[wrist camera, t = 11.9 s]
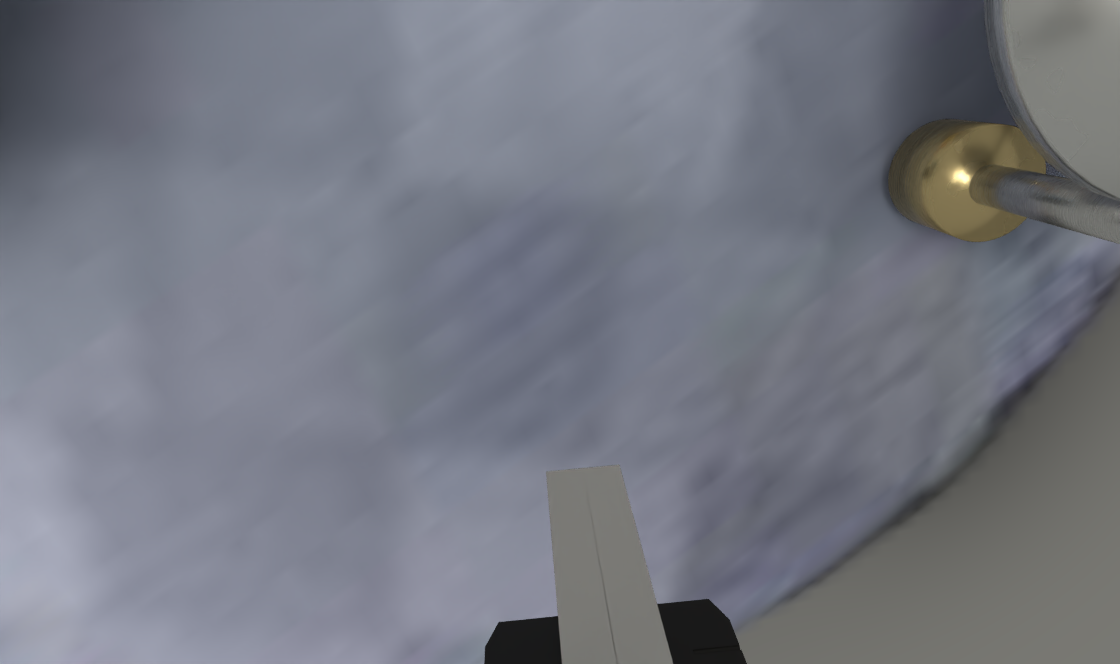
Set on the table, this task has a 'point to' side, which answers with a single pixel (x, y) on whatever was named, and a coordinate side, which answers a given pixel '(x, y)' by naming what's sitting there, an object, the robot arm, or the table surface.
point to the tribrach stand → (1027, 131)
